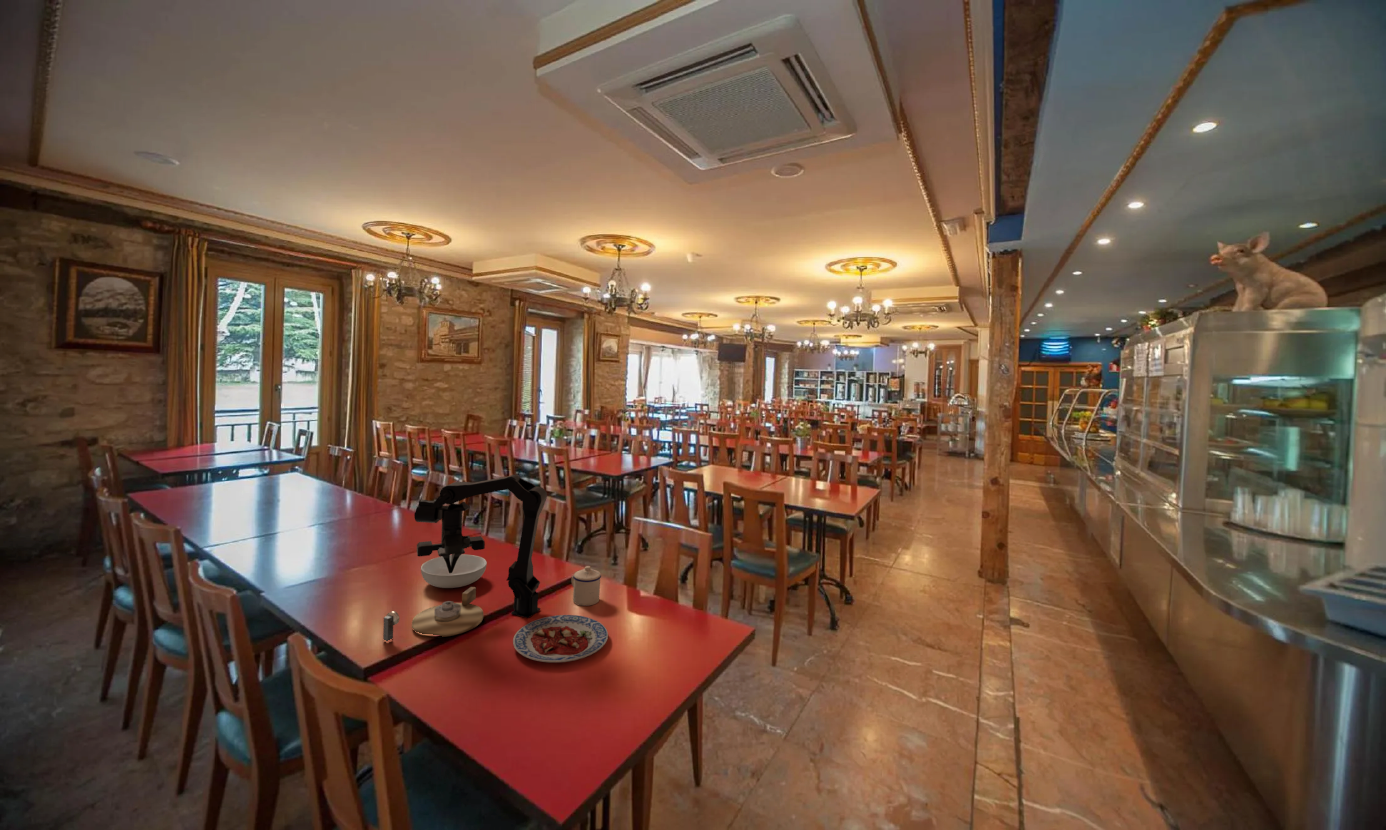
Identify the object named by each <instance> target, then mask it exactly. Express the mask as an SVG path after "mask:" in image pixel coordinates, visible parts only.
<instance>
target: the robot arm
mask: <svg viewBox="0 0 1386 830" xmlns="http://www.w3.org/2000/svg"><path fill="white" fill-rule="evenodd" d="M507 490H508V491H509V492H511V493H512V495H514V497H515V498H516V499H518V500H519V501H521V502H522V512H523V517H524V518H523V523H522V528H521V529H522V530H521V535H520V541H519V546H518V547H519V548H518V552H517V557H516V560H515V561H514V562H513V563H512V564H511V565H510V566H509V567H508V576H507V578H506V581H508V582H507V584H508V588H510V590H512V593H513V596H514V597H513V611H511V613H510V614H511V615H513V616H519V617H521V618H526V619H529V618H530V617H533V616H534V615H536V614H537V613H538V612H540V611H541V608H540V607H538V606H539V605H538V604H539V592H537V591H536V590H538V588H539V586H540V584H541V581H540V580H539V579H538V578H537V577H536V576H535V575H534V564H533V559H532V558H533V553H534V546H535V541H536V536H537V528H538V524H539V518H540V516H541V513H542V511H543V508H544V506H545V504H546V501H547V498H548V493H547V491H546V489H545V488H543V487H542V486H538V485H535V484H534V483H532V482H530V481H528V480H525V479H523V478H521V477H520V476H518V475H516V474H511V475H509V476H503V477H498V478H493V479H487V480H482V481H476V482H475V481H474V482H469V481H454V482H452V483H450V484H447V485H446V486H443V487H442V488H441V489H440V491H439V496H438V497H437V498H436V499H435V500H427V499H421V500H419V501H418V505H417V507H416V509H415V511H414V514H413V515H414V520H415V522H417V523H430V524H437V523H438V522H439V521H441V537H440V539H441V540H440V541H441V542H440V543H433V542H432V540H429V541H427V540H426V541H418V543H417V544H416V555H417V557H428V556H431V555H432V553H433V552H435V551H436V552H437V555H438V557H443V558H444V560H445V562H446V565H447V568H448V571H449V573H452V572H453V569H454V567H455V564H456V562H457V560H458V558H459V556H460V555H461V554H465V553H466V551H465V549H468V548H470V547H471V549H472V550H473V551H479V550H484V549H485V548H486V547H485V546H486V542H485V540H484V538H483V537H482V535H477V536H470V535H463V512H465V511H468V510H469V509H470V508H471V507H470V505H469V504H467V503H466V501H463V500H466V499H468V498H470V497H474V496H478V495H480V496H481V495H485V494H490V493H496V492H500V491H501V492H502V491H507ZM460 501H462V502H460ZM457 502H460V503H457ZM450 555H452V558H451V565H450Z"/></svg>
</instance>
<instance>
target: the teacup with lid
mask: <svg viewBox="0 0 1386 830" xmlns="http://www.w3.org/2000/svg"><path fill="white" fill-rule="evenodd" d="M601 579H602V574H601V572H600V571H599V570H595V569H593V568H591V566H590V565H586V566H585V567H584V568H582V569H580V570H578V571H575V572H574V574H573V575H572V576H571V586H572V588H573V592H572V593H573V594H572V595H573V597H572V600H573V603H574V604H575V605H578V606H584V607H588V606H589V607H590V606H593V605H596V604H597V603H599V600H600V594H601V593H600V592H601V590H600V589H601V587H600V586H601Z"/></svg>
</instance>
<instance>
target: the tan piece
mask: <svg viewBox="0 0 1386 830" xmlns="http://www.w3.org/2000/svg"><path fill="white" fill-rule="evenodd" d="M476 590H477V587H475V586H470V587H469V588H467V589H466V590H465V591H464V592H461V602H455V603H456V604H459V605H460V606H461V615H460V617H459V618H458V619H456V620H453V621H450V622H438V621H436V620H435V619H434V611H435V608H436V607H438V606H440V605H441V604H439V605H434V606H432V607H429V608H426V609H424V610H422V611H420V612H419V613H417V614H416V615H415V616H414V617H413V619H412V622H411V629H412V628H413V629H414V631H416V632H419V633H422V634H433V635H440V636H442V637H441V638H444V637H451V636H452V637H453V636H456V635H461V634H463V633H466V632H468V631H471V630H473V629H475V628H476V627H477V626H478V625H480V624H481V623H482V621H483V619H484V610H483V609H482V607H480V606H479V605H476V604H473V603H472V602H474V601H475V600H476V596H477V595H476V594H477V591H476ZM413 629H412V630H413ZM414 631H413V632H414Z"/></svg>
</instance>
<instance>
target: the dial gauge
mask: <svg viewBox="0 0 1386 830" xmlns="http://www.w3.org/2000/svg"><path fill="white" fill-rule="evenodd" d="M398 623H400V615H399V613H398V611H395V610H392V611H390V612H388V613H387V614H386V616H384V617H383V632H382V633H383V634H382V635H383V637H382V640H383V639H384V640H386V641H388V640H390V639H392V638H393V639H394V626H396V625H397V624H398Z"/></svg>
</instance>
